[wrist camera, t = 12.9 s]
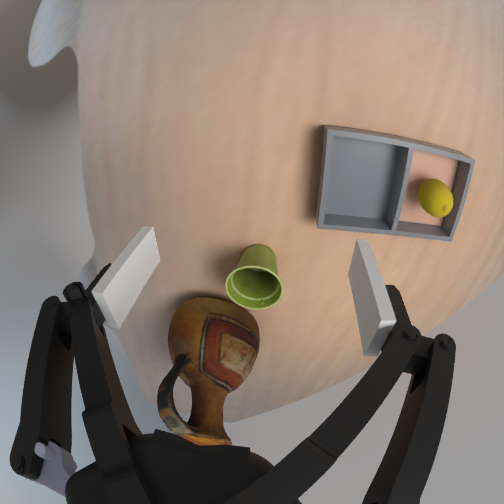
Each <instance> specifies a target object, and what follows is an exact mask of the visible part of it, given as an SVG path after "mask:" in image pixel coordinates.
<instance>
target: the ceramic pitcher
mask: <svg viewBox="0 0 504 504" xmlns="http://www.w3.org/2000/svg"><path fill="white" fill-rule="evenodd" d="M259 343H260V337H259V328H258V324H257V322H256V320H255V318H254V317H253V316H252V315H251V314H250V313H248V312H247V311H246V310H245V309H243V308H242V307H240V306H238V305H236V304H234V303H232V302H228V301H224V300H220V299H217V298H202V297H200V298H194V299H191V300H188V301H186V302H184V303H183V304H181V305H180V306H179V307H178V309H177V310H176V312H175V313H174V315H173V318H172V320H171V323H170V328H169V334H168V346H169V352H170V357H171V360H172V363H173V367H172V369H171V370H170V371H169V373H168V374H167V375H166V377H165V378H164V379H163V381H162V383H161V384H160V386H159V389H158V395H157V404H158V411H159V415H160V418H161V419H162V420H163V422H164V423H165V424H166V426H167V428H168V429H169V430H170V431H172V432H174V434H176V435H179V436H181V437H182V438H184V439H186V440H189V441H191V442H193V443H195V444H197V445H224V444H226V445H232V442H231V439H230V438H229V437H228V436H227V434H226V432H225V430H224V427H223V404H224V400H225V398H226V396H227V394H228V393H230V392H232V391H234V390H235V389H237V388H238V387H239V386H240V385H241V384H242V383H243V382H244V381H245V379H246V378H247V377H248V375H249V373H250V372H251V370H252V367H253V365H254V362H255V360H256V357H257V354H258V351H259ZM178 376H180V378H181V379H182V380H183V381H184V383H185V384H187V385H188V386H189V387H190V388H191V392H192V410H191V415H190V418H189V420H188V422H187V423H186V422H185V421H184V420H182V418H181V417H180V416H179V414H178V412H177V410H176V408H175V404H174V399H173V387H174V384H175V381H176V379H177V377H178Z"/></svg>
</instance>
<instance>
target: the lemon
mask: <svg viewBox="0 0 504 504" xmlns="http://www.w3.org/2000/svg"><path fill="white" fill-rule="evenodd" d="M418 200H419V203H420V205H421V207H422V208H423V209H424V210H425V211H426V212H427V213H428V214H430V215H431V216H434V217H444V216H446V215H447V214H449V212H450V211H451V209H452V207H453V196H452V193H451V191H450V189H449V188H448V187H447V186H446V184H445V183H443V182H442V181H440V180H438V179H434V178H432V179H427V180H425V181H424V182H422V184H421V185H420V187H419V189H418Z"/></svg>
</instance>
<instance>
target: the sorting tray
mask: <svg viewBox="0 0 504 504" xmlns="http://www.w3.org/2000/svg"><path fill="white" fill-rule="evenodd" d="M474 163H475V160H474V159H472V158H471V157H469V156H467V155H465V154H464V153H462V152H459V151H456V150H453V149H449V148H446V147H442V146H438V145H435V144H431V143H427V142H423V141H419V140H414V139H410V138H405V137H401V136H396V135H391V134H385V133H380V132H374V131H368V130H362V129H355V128H348V127H340V126H332V125H324V127H323V141H322V154H321V166H320V177H319V187H318V197H317V206H316V214H315V215H316V222H317V228H318V229H331V230H343V231H355V232H366V233H377V234H387V235H397V236H407V237H416V238H425V239H434V240H443V241H452V238H453V236H454V233H455V230H456V227H457V224H458V221H459V218H460V215H461V212H462V209H463V206H464V202H465V199H466V195H467V192H468V188H469V184H470V180H471V176H472V172H473V168H474ZM432 178H434V179H438V180H440V181H442V182H443V183H445V184H446V186H447V187H448V188H449V189H450V191H451V193H452V196H453V207H452V209H451V211H450V212H449V214H447V215H446V216H444V217H434V216H431V215H430V214H428V213H427V212H426V211H425V210H424V209H423V208H422V207H421V205H420V203H419V200H418V189H419V187H420V185H421V184H422V182H424V181H425V180H427V179H432Z"/></svg>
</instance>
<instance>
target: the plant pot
mask: <svg viewBox="0 0 504 504" xmlns="http://www.w3.org/2000/svg"><path fill="white" fill-rule="evenodd" d="M255 268H259V269H255ZM225 288H226V292H227V294H228V296H229V297H230V299H231V300H233V301H234V302H235V303H236V304H238V305H240V306H242V307H245V308H248V309H254V310H261V309H267V308H270V307H272V306H274V305H275V304H277V303H278V302H279V301H280V299H281V298H282V296H283V291H284V288H283V283H282V281H281V279H280V277H279V276H278V270H277V262H276V256H275V254H274V252H273V251H272V250H271V249H270V248H269V247H267V246H264V245H254V246H251V247H248V248H247V249H246V250H245V251H244V253H243V255H242V257H241V259H240V261H239V263H238V265H237V267H236V268H235V269H234V270H233V271H232V272H231V273H230V274H229V275H228V277H227V279H226V282H225Z"/></svg>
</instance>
